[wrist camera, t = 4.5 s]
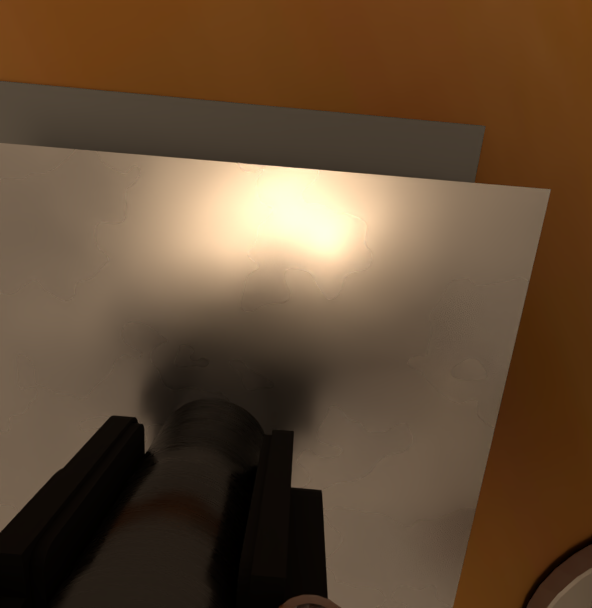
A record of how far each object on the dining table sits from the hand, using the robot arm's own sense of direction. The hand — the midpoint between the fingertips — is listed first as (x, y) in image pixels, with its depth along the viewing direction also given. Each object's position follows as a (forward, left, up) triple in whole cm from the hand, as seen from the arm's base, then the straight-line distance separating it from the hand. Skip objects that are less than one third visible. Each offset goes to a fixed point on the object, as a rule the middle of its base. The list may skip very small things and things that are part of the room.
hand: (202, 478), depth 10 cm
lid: (0, 0, -2) cm, 2 cm away
